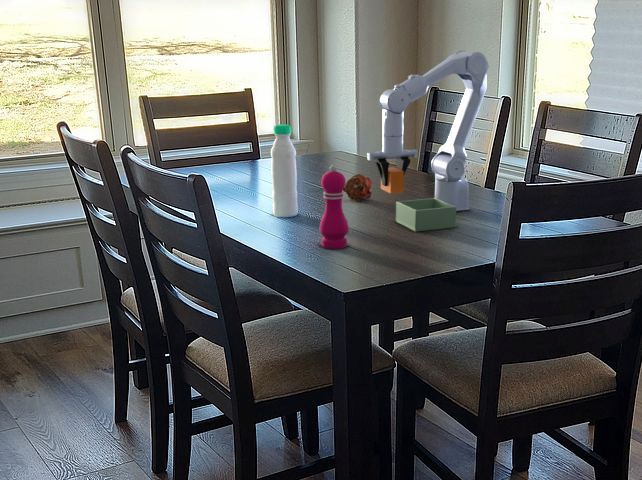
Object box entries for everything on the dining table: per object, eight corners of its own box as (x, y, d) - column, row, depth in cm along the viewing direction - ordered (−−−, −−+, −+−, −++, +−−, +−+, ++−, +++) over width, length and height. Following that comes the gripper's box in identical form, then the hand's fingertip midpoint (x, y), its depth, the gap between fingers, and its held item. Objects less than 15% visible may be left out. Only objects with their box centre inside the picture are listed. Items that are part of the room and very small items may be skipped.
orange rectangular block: (393, 187, 244) (393, 166, 242) (403, 192, 238) (404, 171, 236) (380, 189, 243) (380, 167, 241) (390, 193, 237) (390, 172, 235)
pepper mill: (319, 242, 216) (317, 162, 208) (347, 241, 216) (347, 162, 209) (320, 249, 209) (318, 167, 201) (349, 249, 210) (349, 167, 202)
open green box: (434, 217, 241) (435, 197, 239) (455, 227, 230) (456, 206, 228) (395, 221, 236) (396, 201, 234) (415, 231, 226) (415, 210, 224)
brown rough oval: (360, 209, 256) (353, 206, 268) (382, 191, 256) (374, 189, 268) (343, 187, 254) (336, 185, 265) (365, 169, 254) (357, 167, 265)
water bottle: (301, 213, 245) (299, 123, 235) (291, 218, 239) (288, 127, 229) (279, 211, 247) (276, 122, 237) (269, 216, 241) (265, 126, 231)
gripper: (410, 132, 241) (409, 180, 246) (363, 134, 235) (363, 184, 241) (421, 135, 235) (420, 184, 240) (372, 138, 229) (372, 188, 235)
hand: (392, 184), depth 240 cm, fingers closed on orange rectangular block, 4 cm apart
